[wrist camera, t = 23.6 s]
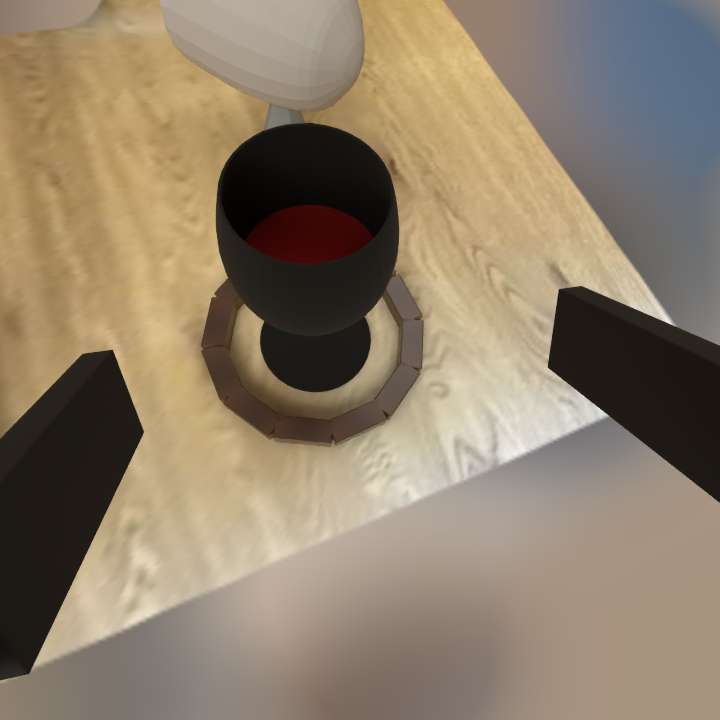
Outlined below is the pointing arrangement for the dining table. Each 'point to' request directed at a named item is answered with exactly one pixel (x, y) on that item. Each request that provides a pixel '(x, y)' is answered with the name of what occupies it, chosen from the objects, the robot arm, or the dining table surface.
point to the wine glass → (308, 246)
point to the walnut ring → (308, 428)
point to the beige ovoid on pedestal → (273, 49)
